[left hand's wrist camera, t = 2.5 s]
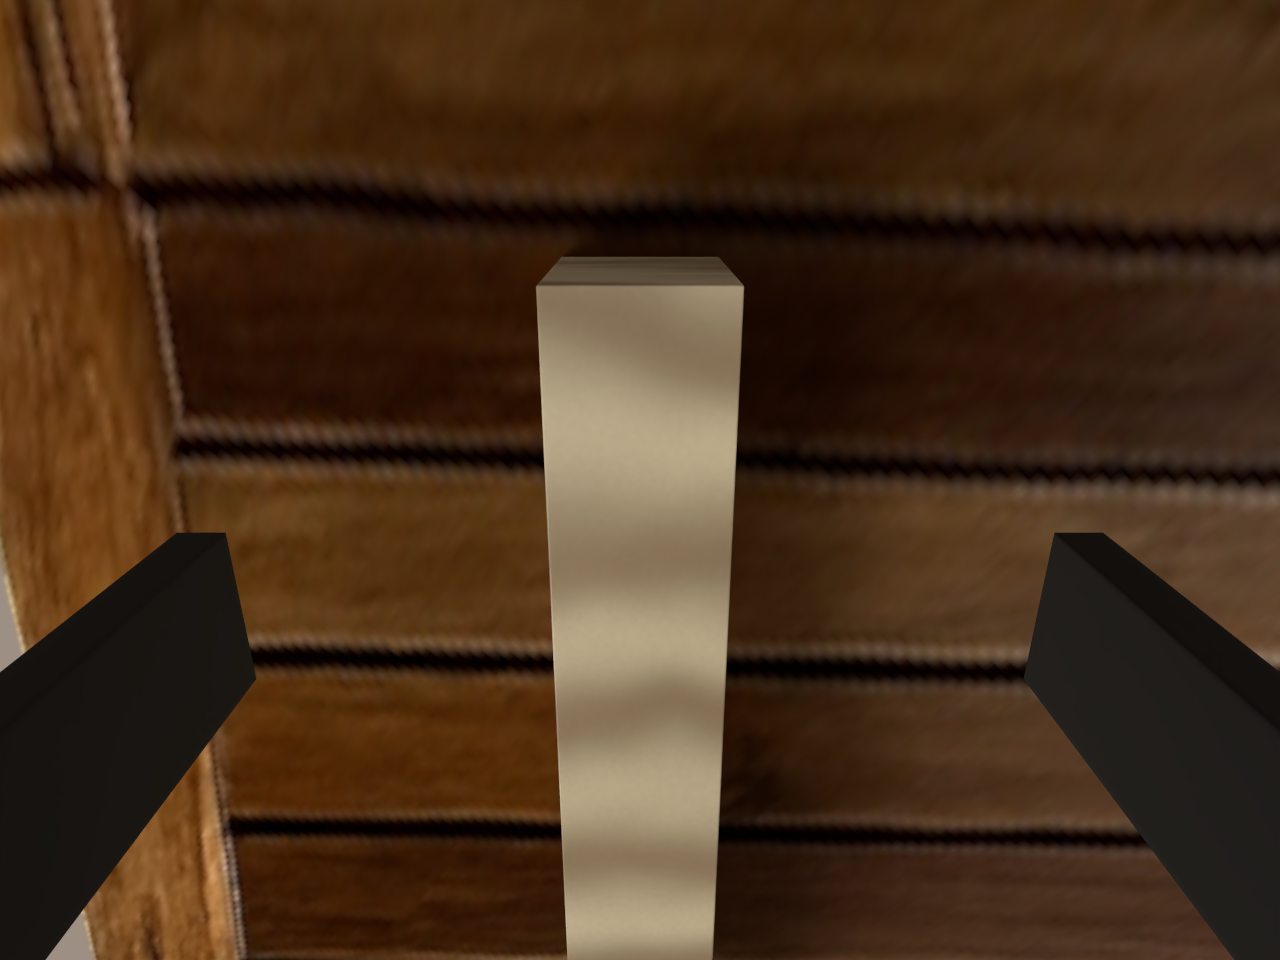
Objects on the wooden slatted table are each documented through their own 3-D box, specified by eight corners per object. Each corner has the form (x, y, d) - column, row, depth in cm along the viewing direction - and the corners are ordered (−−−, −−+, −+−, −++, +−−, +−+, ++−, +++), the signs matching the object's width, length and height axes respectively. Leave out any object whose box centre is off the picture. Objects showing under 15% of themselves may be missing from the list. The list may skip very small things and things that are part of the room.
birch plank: (561, 256, 25) (535, 285, 19) (719, 256, 25) (744, 285, 19) (588, 1030, 38) (578, 1192, 32) (691, 1030, 38) (701, 1192, 32)
